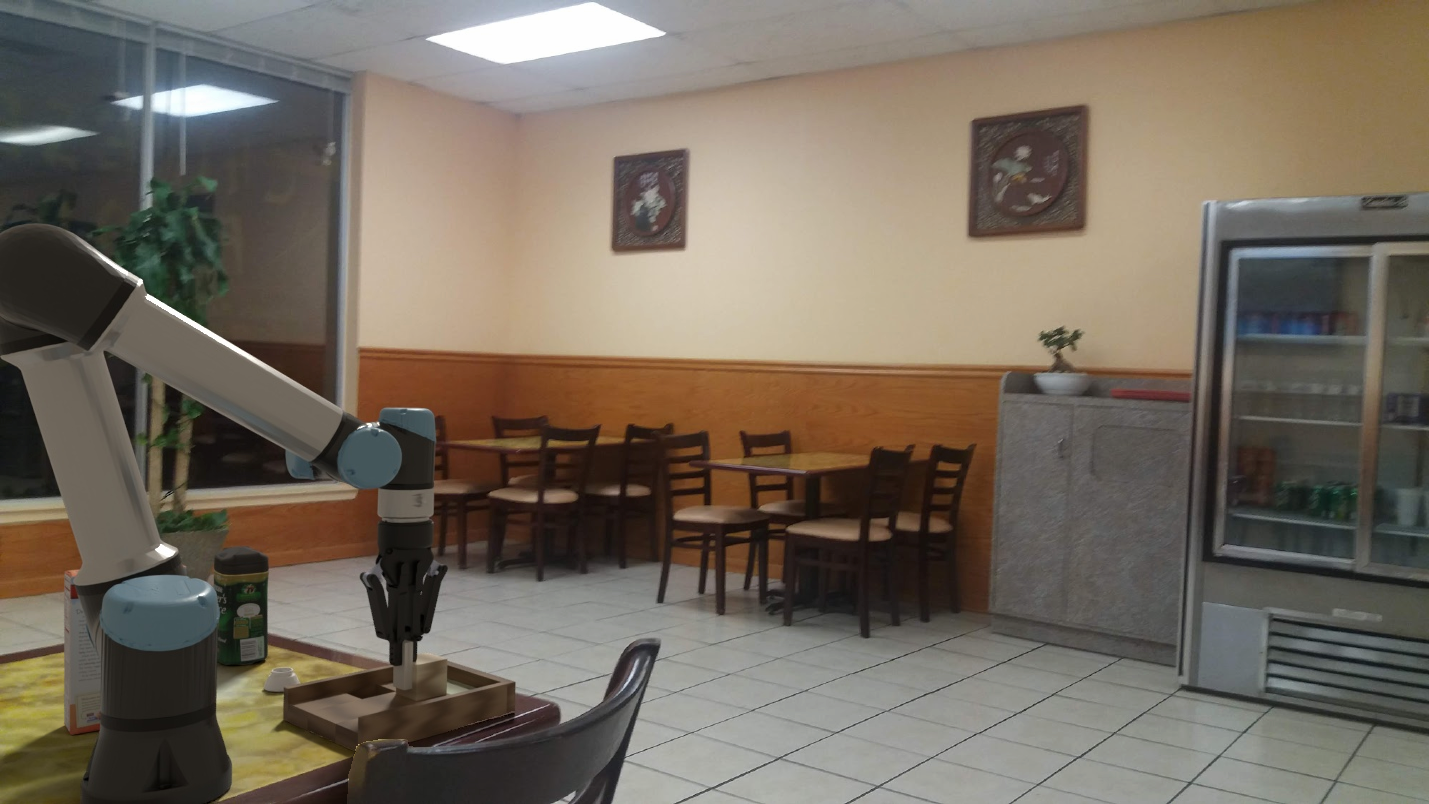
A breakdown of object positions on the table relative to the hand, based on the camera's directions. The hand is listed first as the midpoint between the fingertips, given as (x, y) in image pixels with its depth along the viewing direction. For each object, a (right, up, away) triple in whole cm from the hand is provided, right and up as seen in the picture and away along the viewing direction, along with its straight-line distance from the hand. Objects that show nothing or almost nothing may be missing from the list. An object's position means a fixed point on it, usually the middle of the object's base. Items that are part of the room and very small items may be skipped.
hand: (402, 687), depth 150 cm
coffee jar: (-35, -3, +28) cm, 45 cm away
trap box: (-1, -4, -1) cm, 4 cm away
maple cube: (+2, -2, +2) cm, 3 cm away
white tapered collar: (-22, -4, +12) cm, 25 cm away
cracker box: (-36, -4, -5) cm, 37 cm away
